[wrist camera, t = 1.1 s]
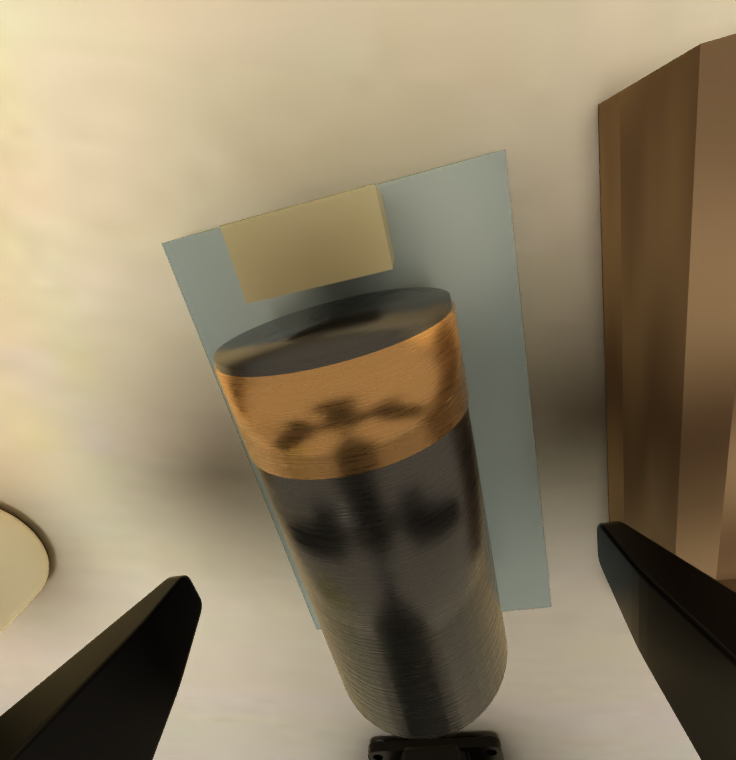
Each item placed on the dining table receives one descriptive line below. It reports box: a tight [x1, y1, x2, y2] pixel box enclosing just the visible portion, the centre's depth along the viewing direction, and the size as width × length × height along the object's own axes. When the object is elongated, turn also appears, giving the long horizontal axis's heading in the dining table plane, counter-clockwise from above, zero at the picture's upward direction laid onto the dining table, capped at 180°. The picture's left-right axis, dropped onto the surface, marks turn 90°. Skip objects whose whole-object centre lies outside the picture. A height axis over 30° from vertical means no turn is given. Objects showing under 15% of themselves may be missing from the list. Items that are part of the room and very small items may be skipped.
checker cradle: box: [162, 150, 551, 629], centre depth 12 cm, size 15×9×4 cm, turn 13°
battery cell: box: [213, 287, 507, 739], centre depth 10 cm, size 10×5×5 cm, turn 13°
